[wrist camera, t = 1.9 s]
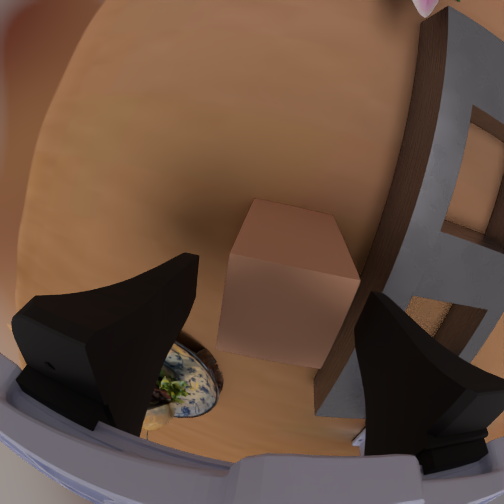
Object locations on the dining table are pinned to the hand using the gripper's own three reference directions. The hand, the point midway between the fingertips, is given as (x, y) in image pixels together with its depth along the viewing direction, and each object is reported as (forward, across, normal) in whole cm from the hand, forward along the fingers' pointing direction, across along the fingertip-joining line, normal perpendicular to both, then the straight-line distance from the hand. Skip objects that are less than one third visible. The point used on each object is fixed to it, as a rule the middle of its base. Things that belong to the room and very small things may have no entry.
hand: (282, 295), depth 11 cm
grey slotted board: (+5, -10, -2) cm, 12 cm away
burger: (+6, +8, +14) cm, 17 cm away
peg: (+6, 0, 0) cm, 6 cm away
